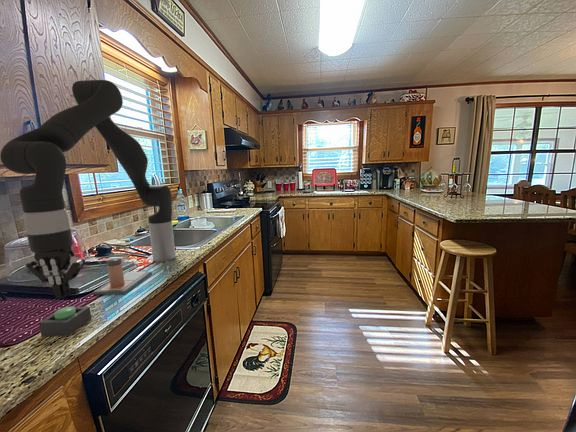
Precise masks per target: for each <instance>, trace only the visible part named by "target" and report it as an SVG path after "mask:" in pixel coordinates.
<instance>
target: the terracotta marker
mask: <svg viewBox="0 0 576 432" xmlns="http://www.w3.org/2000/svg"><path fill="white" fill-rule="evenodd" d="M106 266H107V273H108V279H109V282H110V287H111V288H118V287H121V286H123V285H124V284H125V282H124V275H123V273H124V269H123V263H122V258H121V257H115V258H110V259H107V260H106Z"/></svg>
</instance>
